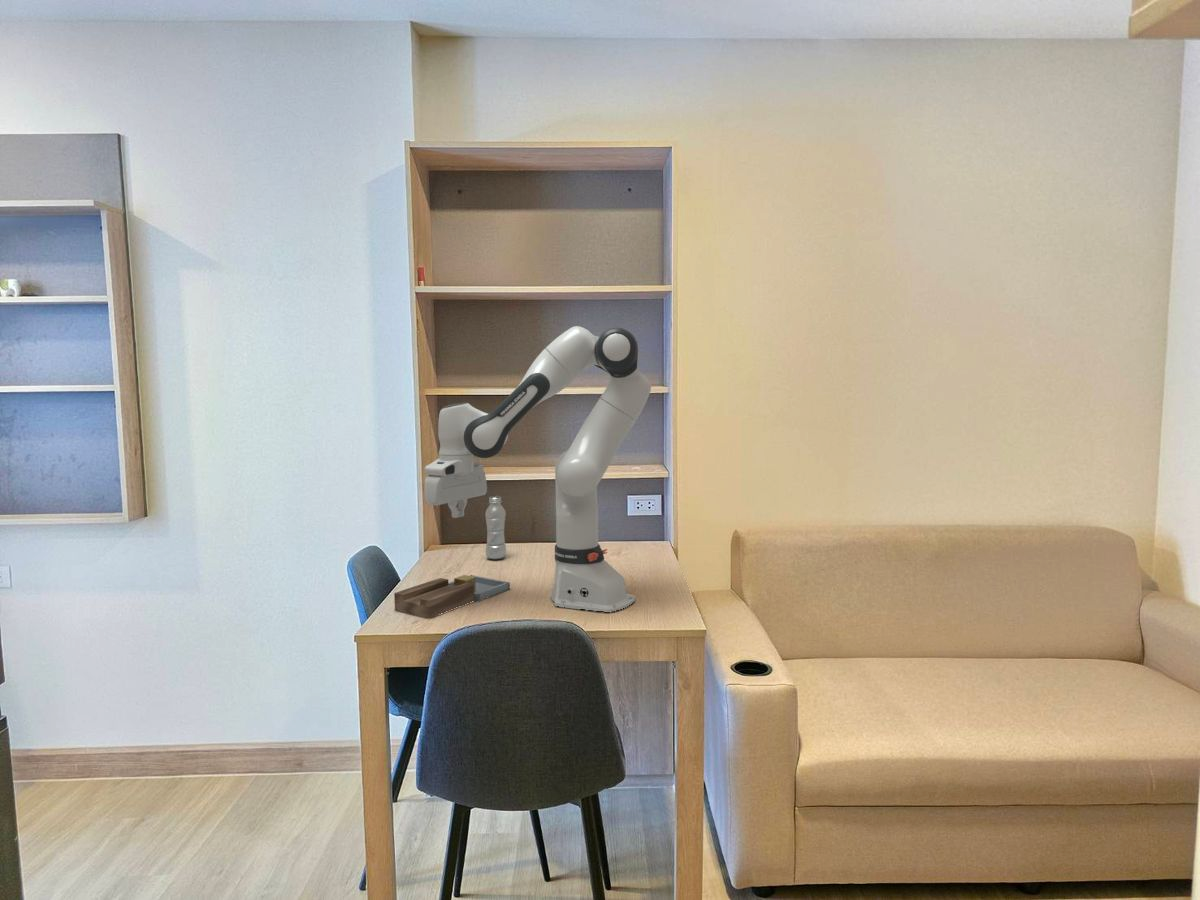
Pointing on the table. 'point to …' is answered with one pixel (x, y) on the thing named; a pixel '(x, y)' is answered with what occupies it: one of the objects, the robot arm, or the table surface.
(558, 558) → the robot arm
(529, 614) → the table surface
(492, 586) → the tray
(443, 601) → the slotted board
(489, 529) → the plastic bottle
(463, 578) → the brass block
